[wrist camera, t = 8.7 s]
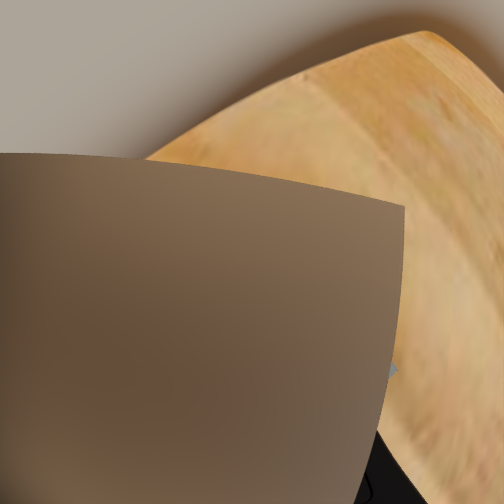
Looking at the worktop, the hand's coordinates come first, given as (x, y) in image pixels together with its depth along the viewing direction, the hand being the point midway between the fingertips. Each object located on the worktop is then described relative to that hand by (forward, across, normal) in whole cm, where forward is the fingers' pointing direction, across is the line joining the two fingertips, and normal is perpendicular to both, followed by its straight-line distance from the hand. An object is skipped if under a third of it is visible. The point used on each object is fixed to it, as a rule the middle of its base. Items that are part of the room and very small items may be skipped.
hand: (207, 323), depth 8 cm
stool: (+4, 0, +6) cm, 7 cm away
